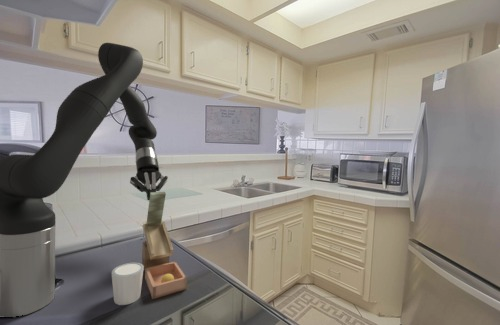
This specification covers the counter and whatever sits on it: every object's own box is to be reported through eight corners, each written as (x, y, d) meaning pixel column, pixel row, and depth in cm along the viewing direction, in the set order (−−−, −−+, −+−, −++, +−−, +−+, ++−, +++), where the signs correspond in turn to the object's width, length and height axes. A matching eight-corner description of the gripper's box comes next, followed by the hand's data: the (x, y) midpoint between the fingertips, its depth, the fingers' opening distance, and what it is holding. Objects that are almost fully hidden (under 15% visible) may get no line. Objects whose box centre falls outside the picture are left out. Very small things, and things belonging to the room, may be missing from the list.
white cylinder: (129, 309, 51) (130, 278, 51) (103, 303, 53) (104, 273, 52) (149, 291, 58) (150, 264, 58) (125, 287, 59) (126, 260, 59)
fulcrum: (144, 271, 67) (145, 244, 67) (142, 264, 71) (142, 239, 71) (169, 265, 71) (169, 240, 71) (165, 259, 75) (166, 235, 75)
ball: (163, 284, 56) (161, 272, 59) (161, 291, 58) (159, 280, 60) (176, 281, 58) (173, 269, 60) (174, 288, 60) (171, 276, 62)
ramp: (150, 259, 63) (155, 222, 58) (142, 225, 74) (146, 191, 69) (172, 255, 67) (179, 219, 62) (162, 222, 77) (167, 190, 73)
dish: (152, 299, 55) (152, 287, 55) (144, 278, 63) (145, 268, 63) (186, 289, 60) (186, 277, 59) (175, 271, 68) (175, 261, 68)
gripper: (128, 154, 82) (131, 195, 72) (166, 155, 89) (174, 192, 79) (126, 168, 86) (129, 208, 77) (163, 168, 94) (170, 204, 84)
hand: (152, 200), depth 78 cm, fingers closed
